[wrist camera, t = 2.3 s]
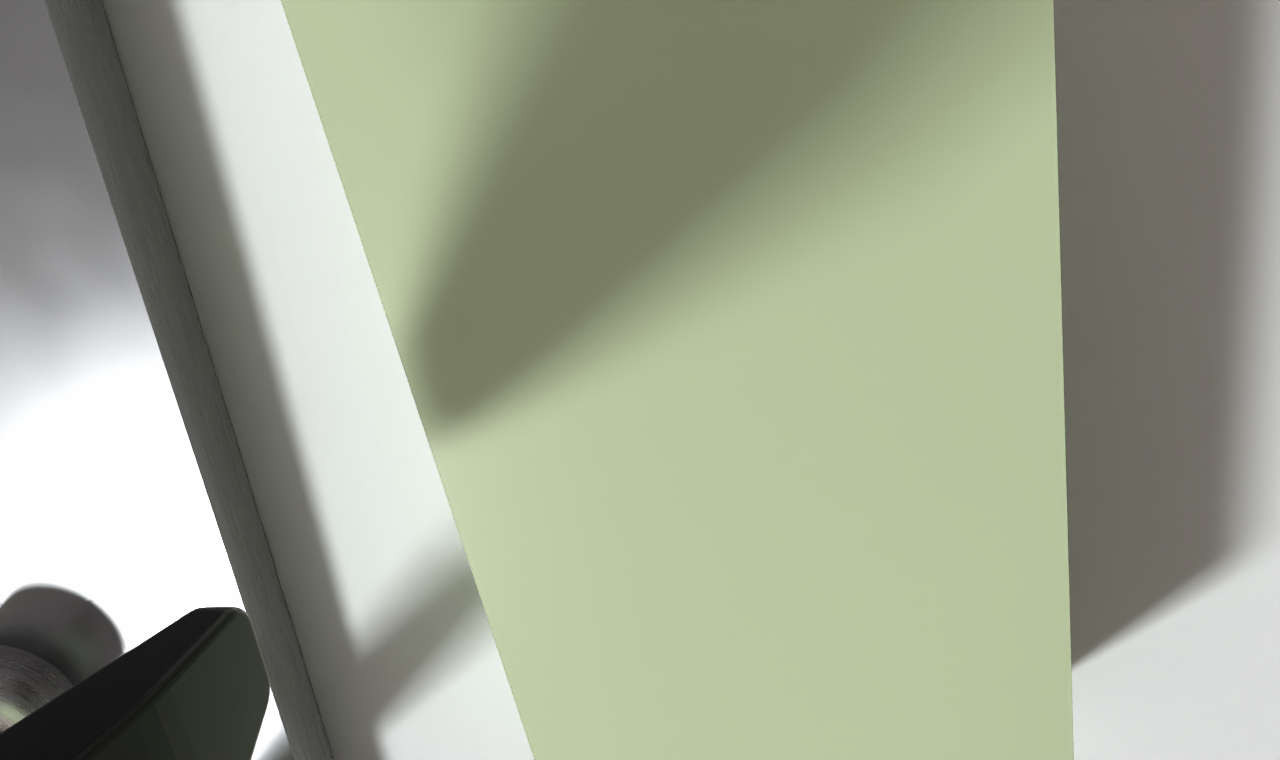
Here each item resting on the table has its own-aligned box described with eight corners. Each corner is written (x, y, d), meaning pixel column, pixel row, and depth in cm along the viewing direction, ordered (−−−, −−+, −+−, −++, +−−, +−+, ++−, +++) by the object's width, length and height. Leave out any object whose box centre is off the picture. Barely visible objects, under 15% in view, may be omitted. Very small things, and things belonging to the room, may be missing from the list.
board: (960, -233, 11) (1046, -255, 7) (1013, 685, 16) (1077, 896, 13) (388, -104, 12) (255, -76, 8) (618, 717, 17) (588, 919, 14)
